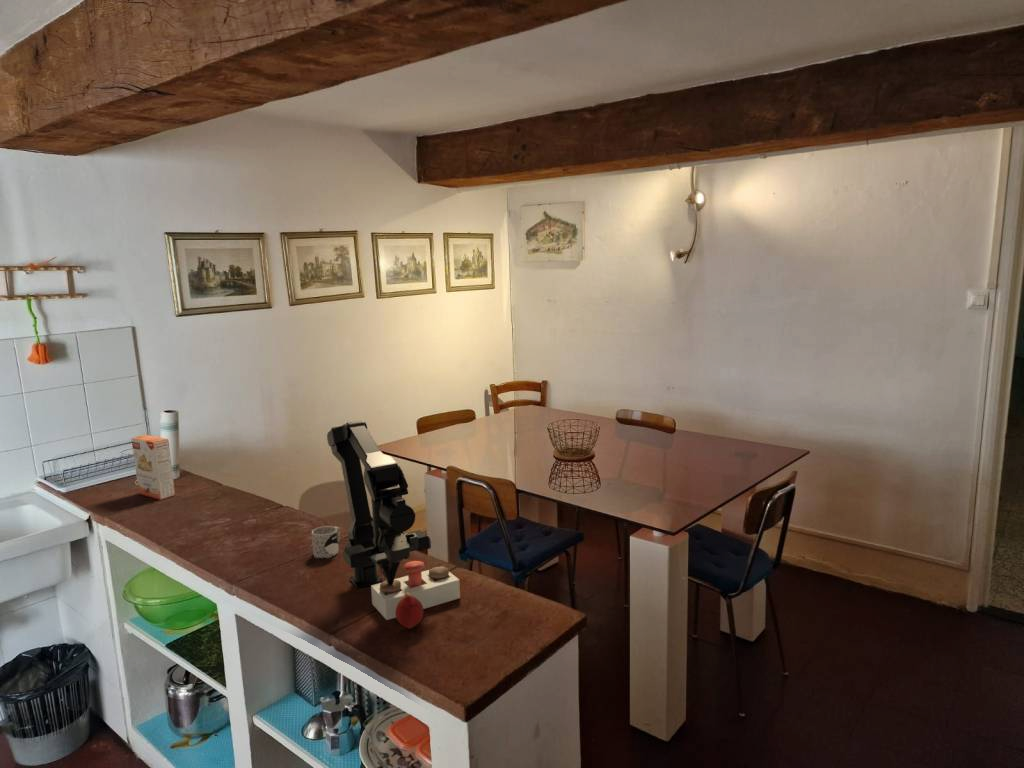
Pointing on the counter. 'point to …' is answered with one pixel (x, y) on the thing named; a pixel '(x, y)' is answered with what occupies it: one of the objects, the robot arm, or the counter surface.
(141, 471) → the cracker box
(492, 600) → the counter surface
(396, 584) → the walnut plunger near
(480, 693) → the counter surface
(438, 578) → the walnut plunger far
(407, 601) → the onion
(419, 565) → the red plunger
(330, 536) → the mug
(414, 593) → the jig
